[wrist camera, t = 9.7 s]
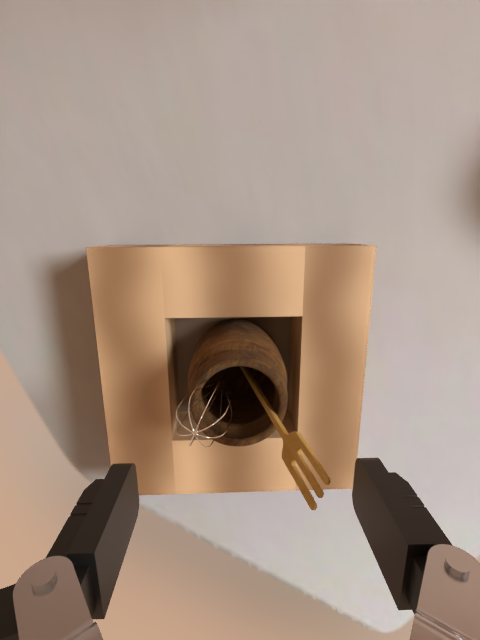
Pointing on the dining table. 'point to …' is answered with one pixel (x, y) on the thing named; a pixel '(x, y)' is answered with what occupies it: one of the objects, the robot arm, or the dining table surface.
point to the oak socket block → (201, 314)
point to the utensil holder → (246, 396)
